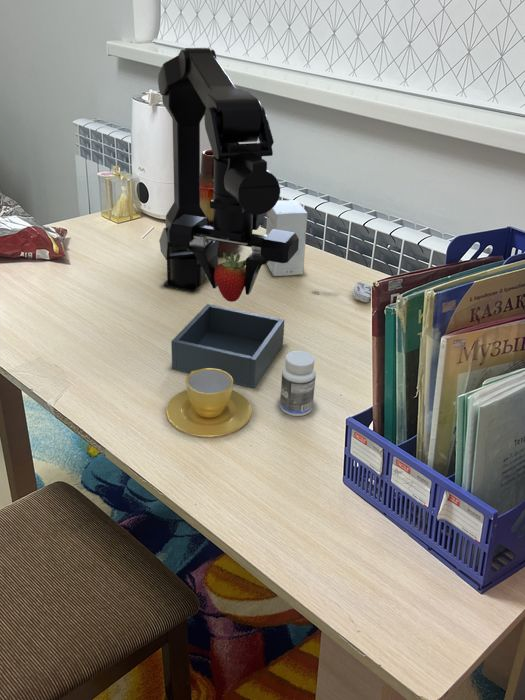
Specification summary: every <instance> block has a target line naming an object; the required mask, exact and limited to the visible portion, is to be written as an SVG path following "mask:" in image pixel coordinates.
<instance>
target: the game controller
mask: <svg viewBox="0 0 525 700" xmlns="http://www.w3.org/2000/svg"><path fill="white" fill-rule="evenodd" d="M371 288H372V285H371V284H370V283H366V282H361V281H359V282H356V283H355V285H354V287H353V290H352V296H353V297H354V299H356V300H358V301H361V302H363V303H369V302H370V300H372V299H371V290H372V289H371ZM338 290H340V291H341V288H340V289H337V291H338ZM342 290H344V291H346V292H348V293H350V291H349V290H346V289H345V288H342ZM316 291H318V289H317V290H315V292H316ZM323 291H324V292H326V290H324V289H323ZM327 293H330V294H331V293H332V294H333V293H334V291H330V292H329V291H327Z"/></svg>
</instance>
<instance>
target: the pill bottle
mask: <svg viewBox="0 0 525 700" xmlns="http://www.w3.org/2000/svg"><path fill="white" fill-rule="evenodd" d="M316 375H317V372H316V369H315V356H313V354H311V353H309V352H307V351H304V350H293V351H290V352H288V353H287V354H286V356H285V360H284V366H283V367H282V371H281V383H280V396H279V397H280V399H279V407H280V409H281V411H282V412H283V413H285V414H286V415H288V416H292V417H293V416H294V417H303V416H307V415H308V414H310V412H312V410H313V406H314V395H315V387H316V386H315V385H316V377H317V376H316Z"/></svg>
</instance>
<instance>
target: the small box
mask: <svg viewBox="0 0 525 700" xmlns="http://www.w3.org/2000/svg"><path fill="white" fill-rule="evenodd" d="M308 214H309V213H308V212H307V211H306V209H305V208H304V207H303V205H302V204H301V203H300V201H299V200H298V199H286V200H285V199H284V200H283V199H282V200H281V199H278V201H277V203H276V205H275V206H274V207H273V208H272V209H271V210H270V211H268V212H266V226H265V227H266V228H265V229H266V230H265V235H268V234H269V233H270V232H271V231H272V230H273V229H277V230H283V231H289V232H295V233H296V235H297V237H298V239H299V245H298V251H297V252H296V253H295V254H294V256H293V257H292V258H291V259H290V260H289V262H288V263H278V262H272V261H268V262H267V264H266V265H267V268H268V270H269V271H270V273H271V275H272V276H273V277H283V276H299V275H300V276H301V275H303V274H304V269H305V268H304V267H305V253H306V252H305V251H306V241H307V227H308V216H309V215H308Z"/></svg>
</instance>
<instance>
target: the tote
mask: <svg viewBox="0 0 525 700" xmlns="http://www.w3.org/2000/svg"><path fill="white" fill-rule="evenodd" d="M284 334H285V319H283V318H279V317H274V316H268V315H264V314H258V313H255V312H248V311H244V310H239V309H234V308H229V307H225V306H220V305H215V304H209V303H207V304H206V305H205V306H204V307H203V308H202V309H201V310H200V311H199V312H198V313H197V314H196V315H195V316H194V317H193V318H192V319H191V320H190V321H189V322H188V323H187V324H186V325H185V326H184V327H183V328H182V329H181V331H179V333H177V335H176V336H175V337H174V338H173V339H172V340H171V342H170V344H171V346H170V348H171V369H172V370H173V371H179V372H184V373H186V374H187V373H188V374H190V373H191V371H194V370H200V369H206V368H213V369H219V370H223V371H225V372H227V373H228V374H230V375H231V377H232V378H233V385H238V386H243V387H246V388H251V389H256V387H257V386H258V384H259V382H260V381H261V379H262V378H263V376H264V375H265V374H266V372H267V371H268V369H269V368H270V366H271V365H272V363H273V362H274V360H275V359H276V357H277V356H278V354H279V353H280V351H281V350H282V348H283V346H284V336H285V335H284Z"/></svg>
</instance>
